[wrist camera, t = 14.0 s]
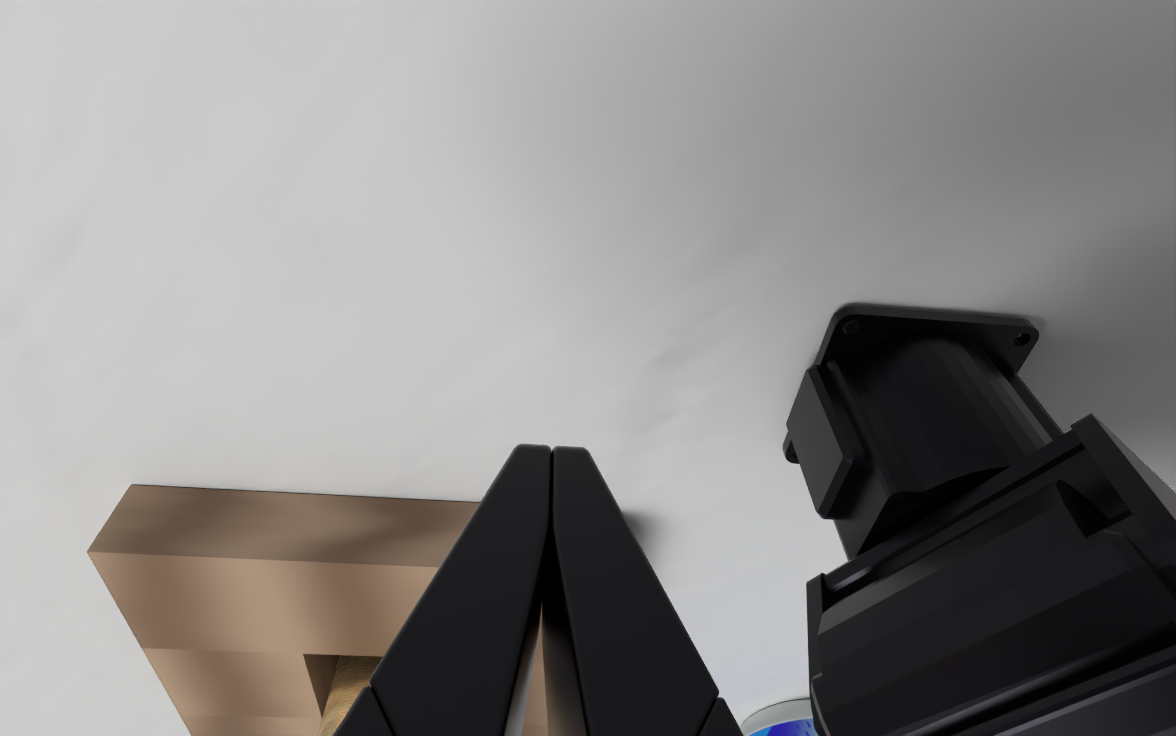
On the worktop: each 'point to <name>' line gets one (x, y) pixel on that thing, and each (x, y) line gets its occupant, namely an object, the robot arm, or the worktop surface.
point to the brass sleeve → (346, 689)
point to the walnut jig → (272, 595)
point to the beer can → (782, 720)
